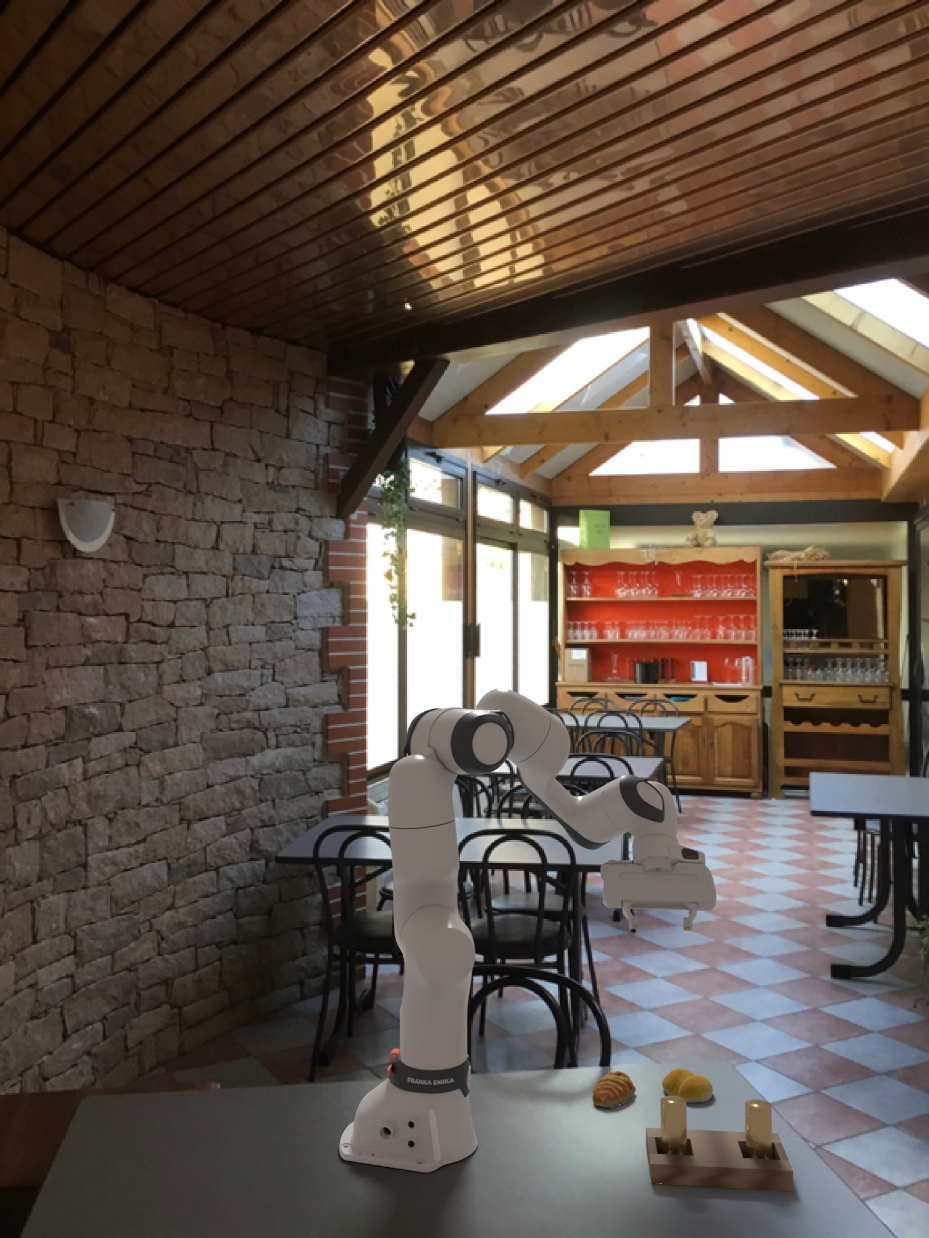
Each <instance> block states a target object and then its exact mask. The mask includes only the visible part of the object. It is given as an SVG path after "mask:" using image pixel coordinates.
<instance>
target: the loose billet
mask: <svg viewBox="0 0 929 1238" xmlns="http://www.w3.org/2000/svg"><path fill="white" fill-rule="evenodd" d="M687 1115H688V1114H687V1103H686V1100H685V1099H683V1098H681V1097H678V1096H669V1095H664V1096H663V1097H661V1098H660V1128H661V1154H668V1155H687V1129H688V1128H687V1127H688V1125H687V1122H688V1121H687Z"/></svg>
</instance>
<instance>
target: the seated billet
mask: <svg viewBox="0 0 929 1238" xmlns="http://www.w3.org/2000/svg"><path fill="white" fill-rule="evenodd" d="M772 1112H773V1111H772V1104H771V1103H770V1102H768V1101H766V1100H763V1099H758V1098H757V1099H756V1098H753V1099H752V1098H751V1099H748V1100H746V1101H745V1102H744V1132H745V1150H746V1158H750V1159H771V1160H772V1133H773V1127H772V1126H773V1120H772V1119H773V1118H772V1114H773V1113H772Z"/></svg>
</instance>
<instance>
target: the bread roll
mask: <svg viewBox="0 0 929 1238" xmlns="http://www.w3.org/2000/svg"><path fill="white" fill-rule="evenodd" d="M661 1086H662V1089H663V1091H664V1093H665V1094H666V1096H678V1097H681V1098H683V1099H685V1100H686V1104H697V1102H700V1103H704V1102H707V1101H710V1099H711V1098H712V1096H713V1092H714V1087H713V1085H712V1082H711V1081H710V1080H709V1078H708V1077H706V1076H703V1075H700V1074H694V1073H693V1071H690V1070H689V1069H687V1068H675V1069H672V1070H671V1071H670V1072H669V1073H667V1074H666V1075H665V1076H664V1077H663V1079H662V1081H661Z"/></svg>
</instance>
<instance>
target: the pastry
mask: <svg viewBox="0 0 929 1238" xmlns="http://www.w3.org/2000/svg"><path fill="white" fill-rule="evenodd" d="M636 1091H637V1089H636V1086H635V1085H634V1083H633V1081H632V1080H631V1078H630V1076H629V1075H628V1074H627V1073H625V1072H623V1071H619V1070H618V1071H614V1072H612V1071H609V1072H608V1074H606V1075H605V1076H603V1077H602V1078H600V1079H598V1081H597V1083H596V1084H595V1085H594V1087H593V1090H592V1092H593V1093H592V1102H593V1105H594V1106H600V1107H604V1108H608V1109H613V1108H615V1107H617V1105H618V1106H620V1105H619V1104H621V1105H624V1104H625V1103H626V1102H627V1100H628V1099H629V1100H631V1099H632V1098H633V1096H634V1095H635V1093H636ZM629 1100H628V1101H629ZM623 1103H624V1104H623ZM614 1106H615V1107H614ZM612 1107H613V1108H612Z"/></svg>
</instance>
